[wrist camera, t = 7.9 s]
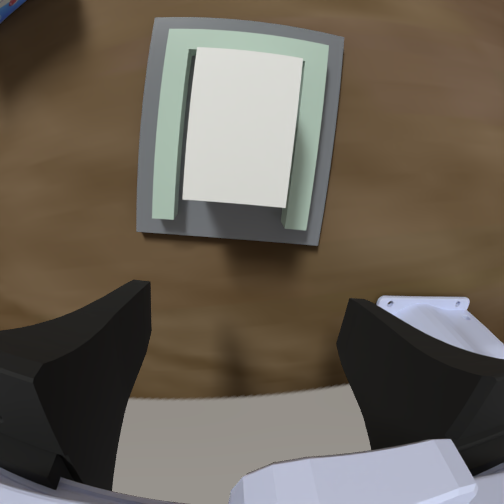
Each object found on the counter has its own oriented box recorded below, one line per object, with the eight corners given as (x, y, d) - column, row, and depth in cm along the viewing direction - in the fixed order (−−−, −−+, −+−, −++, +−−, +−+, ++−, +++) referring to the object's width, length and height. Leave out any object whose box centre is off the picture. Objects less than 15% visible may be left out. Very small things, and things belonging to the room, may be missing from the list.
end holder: (339, 40, 16) (353, 30, 14) (314, 241, 20) (324, 254, 18) (157, 21, 15) (149, 9, 13) (139, 227, 19) (129, 239, 17)
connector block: (279, 82, 16) (303, 58, 11) (267, 184, 18) (285, 208, 13) (207, 74, 16) (197, 47, 10) (197, 179, 18) (182, 199, 12)
